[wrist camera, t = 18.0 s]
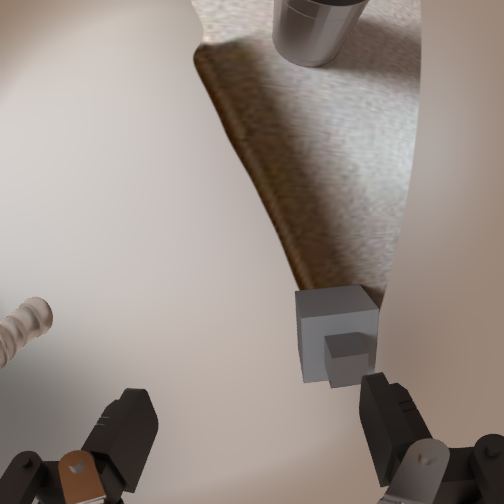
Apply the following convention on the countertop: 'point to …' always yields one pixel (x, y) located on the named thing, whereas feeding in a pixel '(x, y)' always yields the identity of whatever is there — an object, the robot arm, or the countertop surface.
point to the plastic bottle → (23, 327)
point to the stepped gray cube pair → (336, 334)
